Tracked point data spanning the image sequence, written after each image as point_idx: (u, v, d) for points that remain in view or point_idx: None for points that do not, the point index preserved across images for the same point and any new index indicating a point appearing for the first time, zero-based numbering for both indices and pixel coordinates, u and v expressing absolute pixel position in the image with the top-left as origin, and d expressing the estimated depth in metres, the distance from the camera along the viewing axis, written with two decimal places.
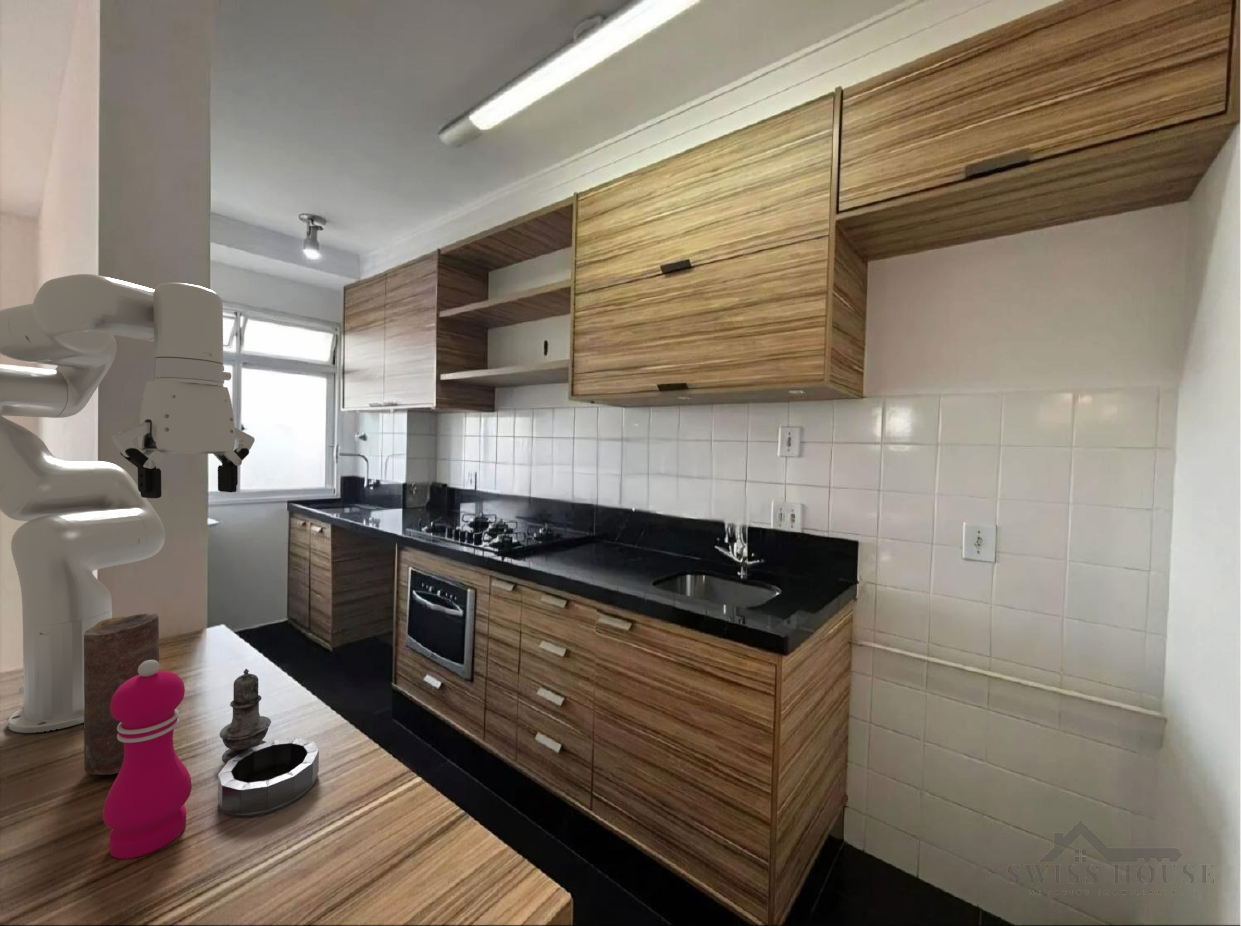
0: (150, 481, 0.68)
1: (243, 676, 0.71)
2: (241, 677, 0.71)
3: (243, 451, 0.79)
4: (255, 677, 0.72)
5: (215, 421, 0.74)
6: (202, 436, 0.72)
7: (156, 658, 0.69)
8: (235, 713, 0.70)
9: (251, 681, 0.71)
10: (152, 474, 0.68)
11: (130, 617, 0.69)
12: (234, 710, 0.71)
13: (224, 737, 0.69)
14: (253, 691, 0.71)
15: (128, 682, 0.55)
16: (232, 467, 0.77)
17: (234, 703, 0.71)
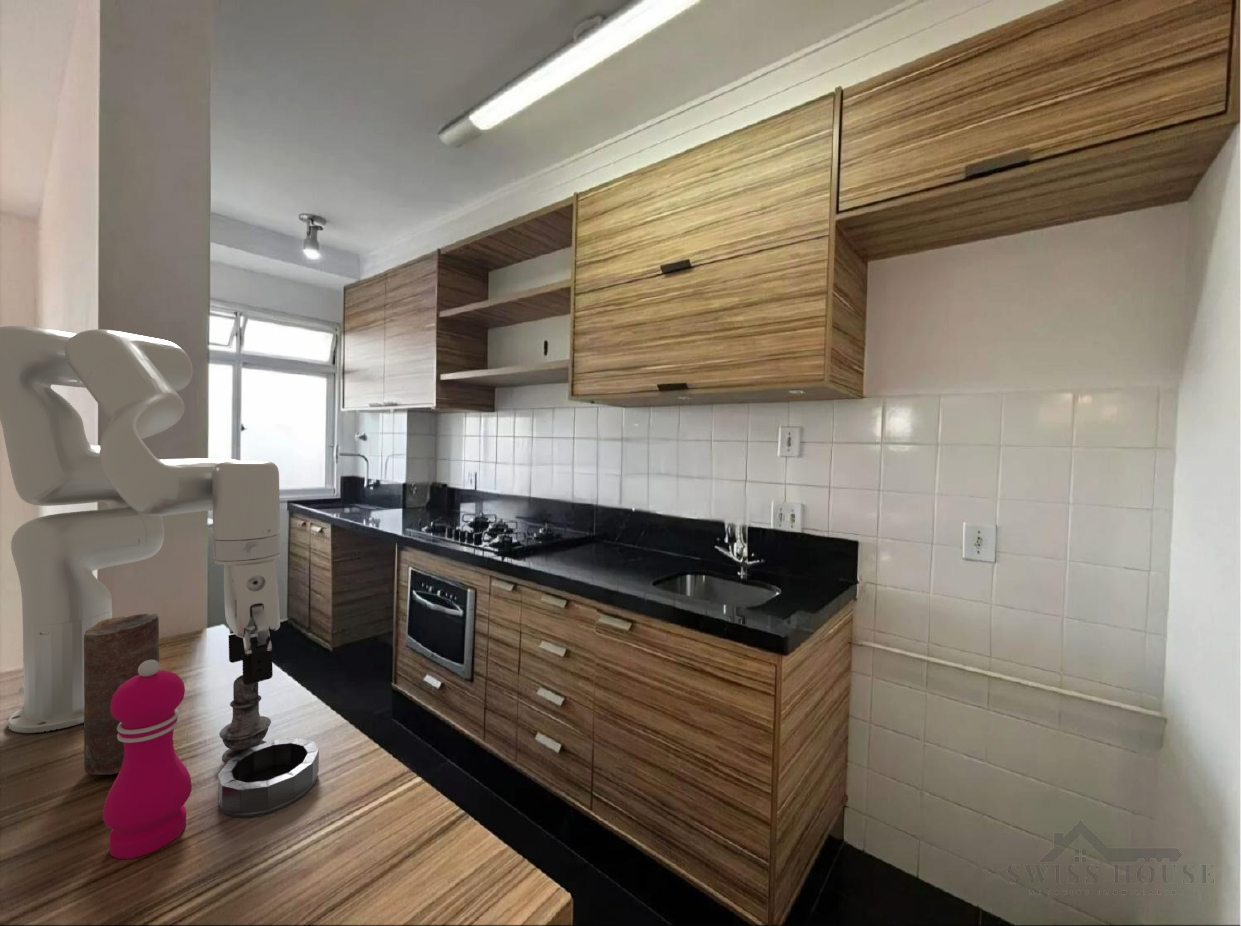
0: None
1: None
2: (241, 677, 0.71)
3: None
4: None
5: (229, 601, 0.68)
6: (228, 615, 0.69)
7: (156, 658, 0.69)
8: (235, 713, 0.70)
9: None
10: None
11: (130, 617, 0.69)
12: (234, 710, 0.71)
13: (224, 737, 0.69)
14: (253, 691, 0.71)
15: (128, 682, 0.55)
16: None
17: (234, 703, 0.71)
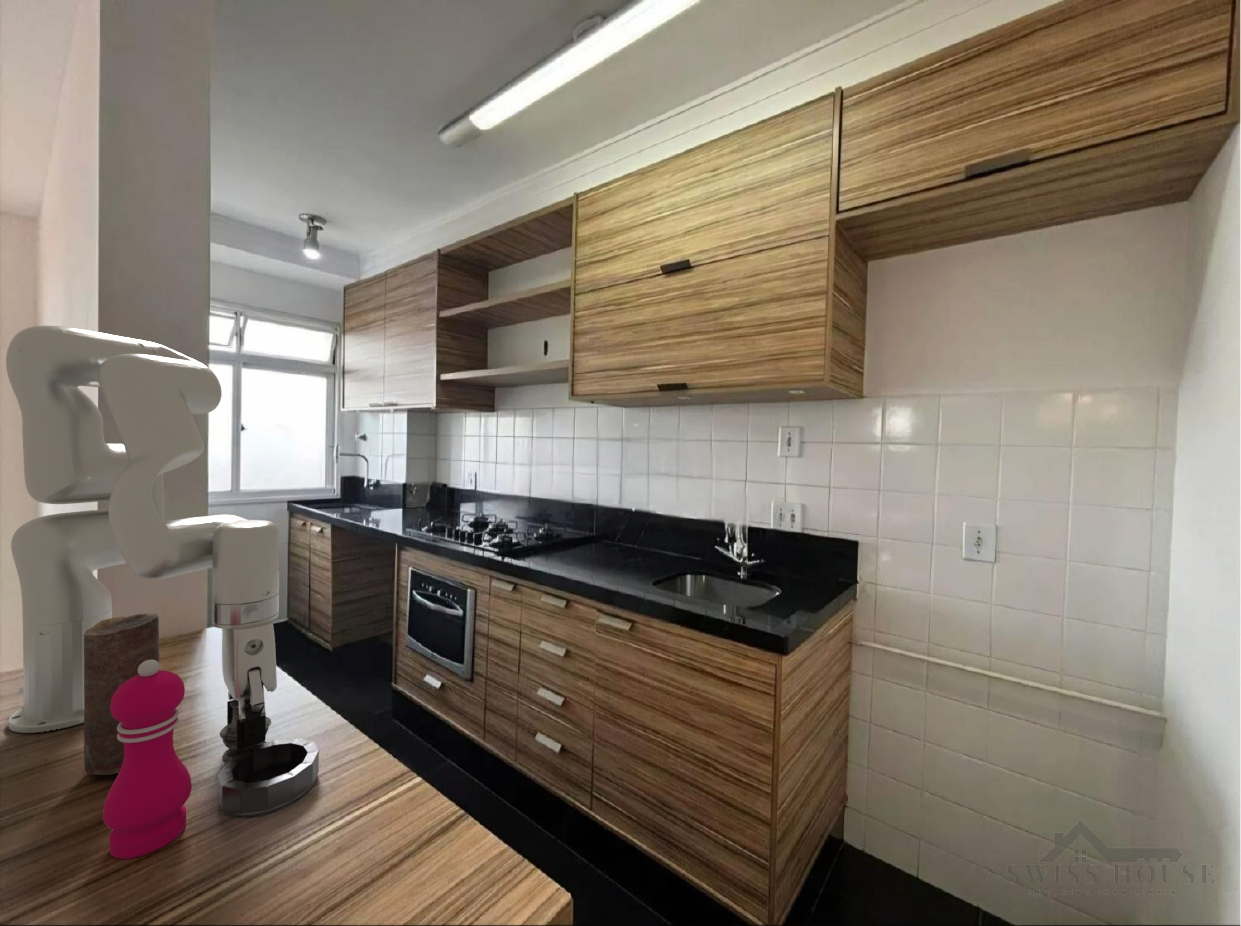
0: None
1: None
2: None
3: None
4: None
5: (227, 664, 0.69)
6: (225, 676, 0.70)
7: (156, 658, 0.69)
8: (236, 713, 0.70)
9: None
10: None
11: (130, 617, 0.69)
12: (234, 710, 0.71)
13: (224, 737, 0.69)
14: None
15: (128, 682, 0.55)
16: (237, 721, 0.69)
17: (234, 703, 0.71)
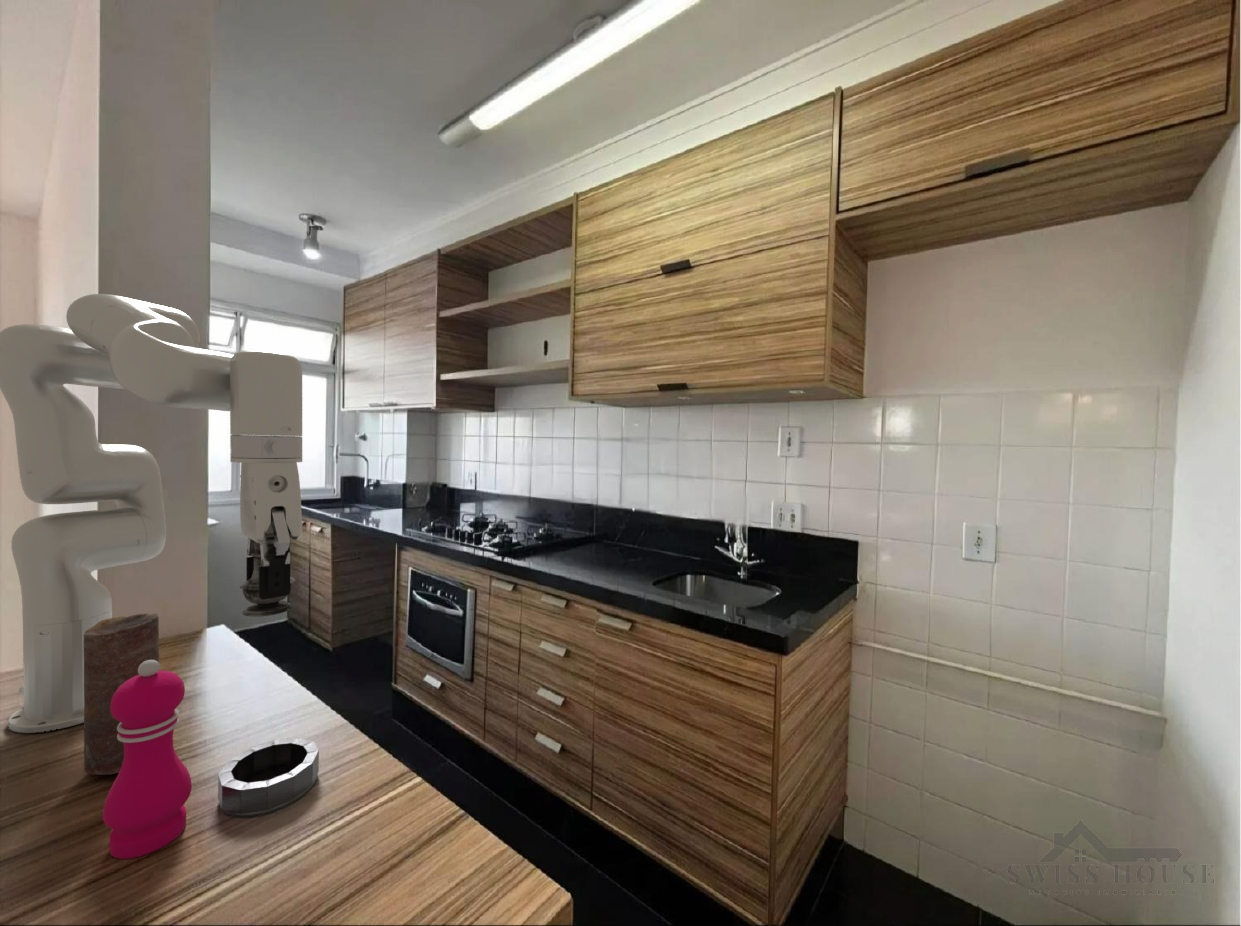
0: None
1: None
2: None
3: (270, 550, 0.61)
4: None
5: (247, 504, 0.62)
6: (245, 521, 0.63)
7: (156, 658, 0.69)
8: (257, 563, 0.64)
9: None
10: None
11: (130, 617, 0.69)
12: (255, 560, 0.64)
13: (245, 587, 0.63)
14: None
15: (128, 682, 0.55)
16: None
17: (256, 553, 0.64)
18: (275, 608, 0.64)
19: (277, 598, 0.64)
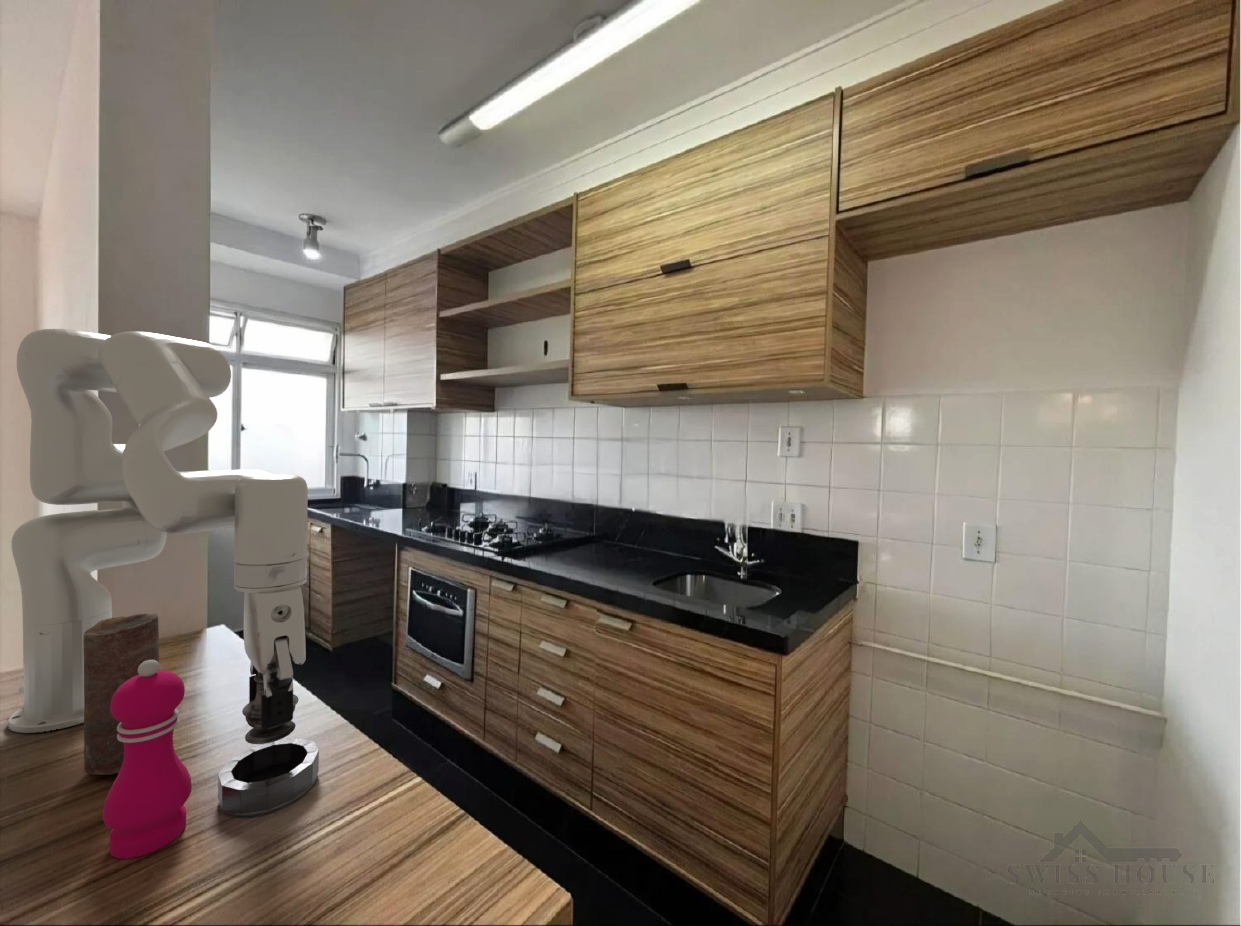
0: None
1: None
2: None
3: (273, 682, 0.60)
4: None
5: (251, 632, 0.61)
6: (248, 646, 0.62)
7: (156, 658, 0.69)
8: (260, 688, 0.63)
9: None
10: (255, 681, 0.66)
11: (130, 617, 0.69)
12: (258, 685, 0.63)
13: (248, 715, 0.62)
14: None
15: (128, 682, 0.55)
16: None
17: (259, 677, 0.63)
18: (277, 733, 0.64)
19: None
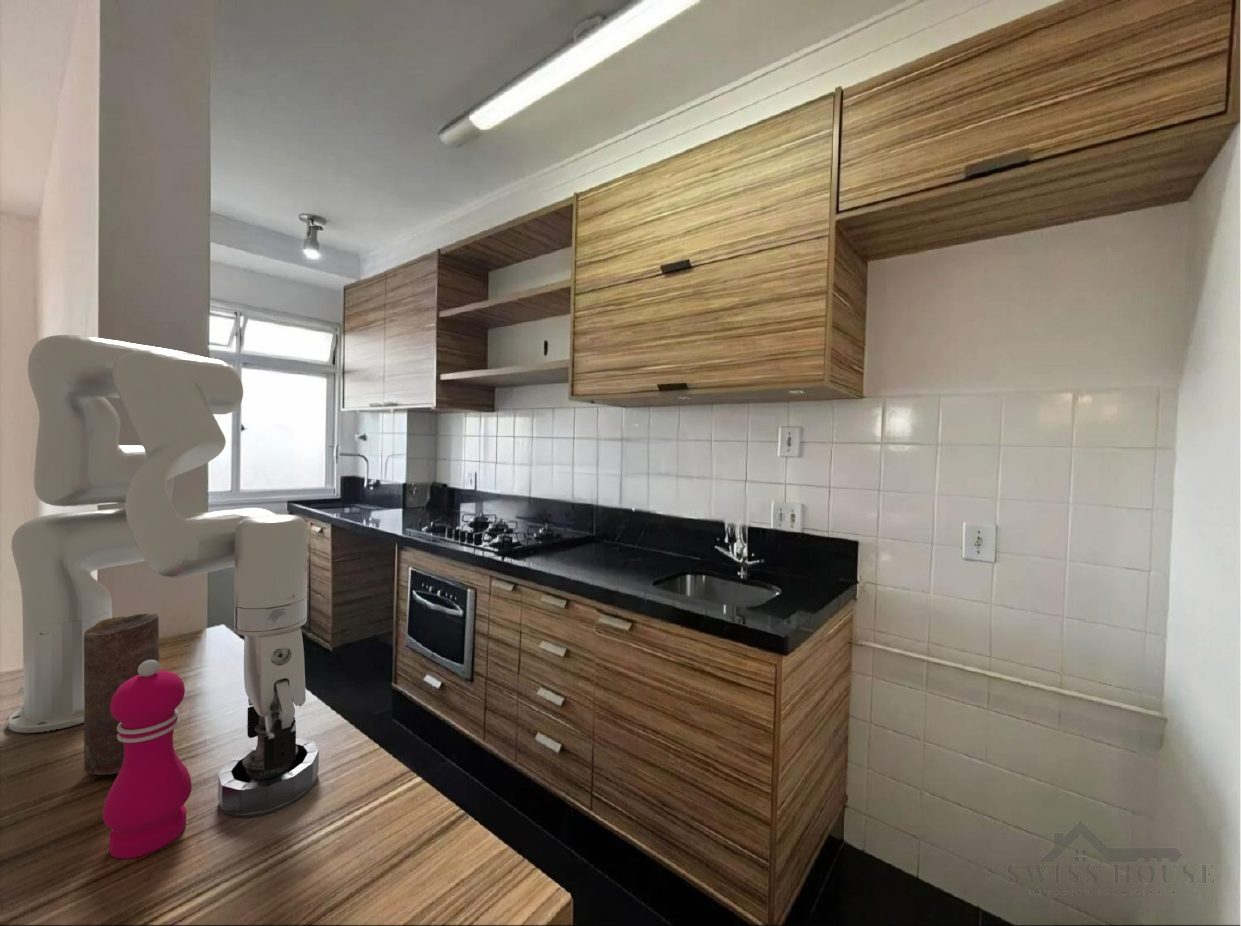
0: None
1: None
2: None
3: None
4: None
5: (251, 675, 0.61)
6: (249, 688, 0.63)
7: (156, 658, 0.69)
8: (261, 739, 0.63)
9: None
10: None
11: (130, 617, 0.69)
12: (259, 736, 0.64)
13: (248, 766, 0.62)
14: None
15: (128, 682, 0.55)
16: None
17: (260, 728, 0.64)
18: None
19: (279, 774, 0.64)
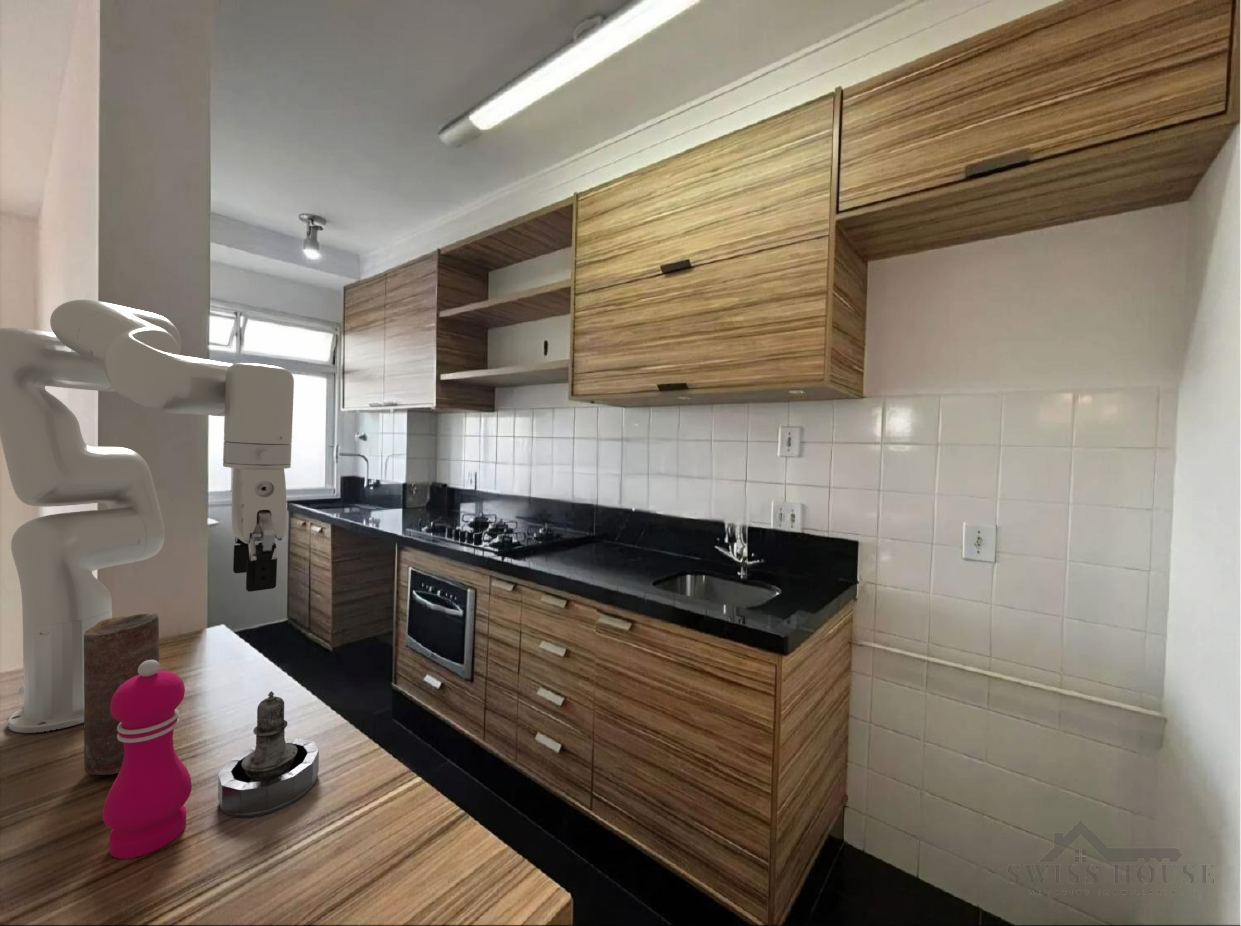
0: None
1: (268, 700, 0.64)
2: (266, 701, 0.64)
3: None
4: (281, 700, 0.65)
5: (236, 506, 0.66)
6: (234, 521, 0.68)
7: (156, 658, 0.69)
8: (260, 741, 0.63)
9: (277, 705, 0.64)
10: None
11: (130, 617, 0.69)
12: (258, 738, 0.63)
13: (247, 768, 0.62)
14: (279, 716, 0.64)
15: (128, 682, 0.55)
16: None
17: (258, 730, 0.63)
18: None
19: (279, 775, 0.64)
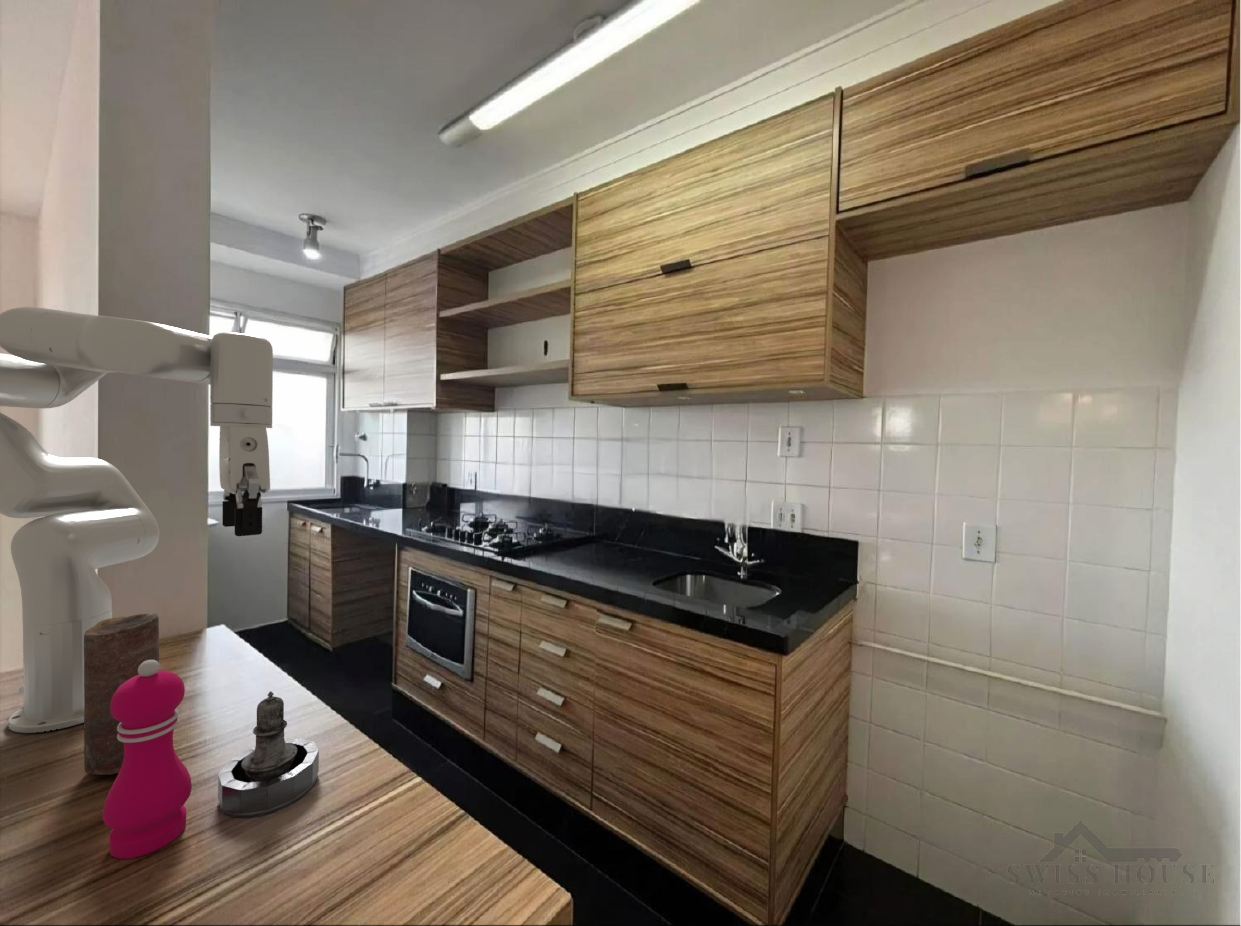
0: None
1: (267, 700, 0.64)
2: (265, 701, 0.64)
3: None
4: (280, 700, 0.65)
5: (224, 461, 0.74)
6: (222, 476, 0.75)
7: (156, 658, 0.69)
8: (259, 741, 0.63)
9: (276, 705, 0.64)
10: None
11: (130, 617, 0.69)
12: (258, 738, 0.63)
13: (247, 769, 0.62)
14: (279, 716, 0.64)
15: (128, 682, 0.55)
16: None
17: (258, 730, 0.63)
18: None
19: (279, 775, 0.64)
